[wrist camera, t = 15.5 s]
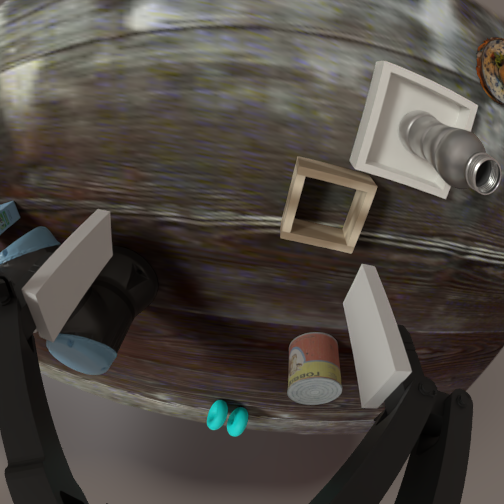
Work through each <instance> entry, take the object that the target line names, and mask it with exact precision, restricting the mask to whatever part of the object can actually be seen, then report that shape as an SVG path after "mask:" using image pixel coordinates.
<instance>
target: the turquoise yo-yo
mask: <svg viewBox="0 0 504 504" xmlns="http://www.w3.org/2000/svg"><path fill="white" fill-rule="evenodd" d="M227 413H228V406H227V404H226V402H225V401H223V400H217V401H216V402H215V403H214V404H213V405H212V407H211V408H210V411H209V413H208V417H207V425H208V427H209V428H210V429H212V430H216V429H218V428H220V427H221V426H222V425H223V424H224V422H225V420H226V417H227ZM247 422H248V412H247V410H246V409H245V408H243V407H238V408H236V409H235V410H234V411H233V412H232V413H231V414H230V416H229V419H228V422H227V430H228V432H229V434H230V435H231V436H238V435H240V434H241V433H242V432H243V431H244V429H245V428H246V425H247Z"/></svg>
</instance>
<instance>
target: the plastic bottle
mask: <svg viewBox="0 0 504 504" xmlns="http://www.w3.org/2000/svg"><path fill="white" fill-rule="evenodd" d="M398 135H399V139H400V141H401V143H402V145H403V146H404V148H405V149H406V150H407V151H408V152H410V153H411V154H413V155H416V156H418V157H422V158H423V159H425V160H427V161H428V162H429V163H430V164H431V165H432V166H433V167H434V168H435V170H436V171H437V172H438V174H439V175H440V177H441V178H442V179H443V180H444V181H445V182H446V183H447V184H448V185H450V186H452V187H455V188H459V189H467V188H470V187H471V188H472V189H473V190H476V191H477V192H478V193H480V194H482V195H488V194H491V193H493V192H494V191H495V190H496V189H497V187H498V185H499V183H500V181H501V175H502V174H501V167H500V165H499V163H498V162H497V161H496V160H495V159H493V158H492V157H491V156H490V155H488V154H487V153H486V151H485V148H484V146H483V144H482V142H481V141H480V140H479V138H478V137H477V136H476V135H475V134H474V133H472V132H470V131H467V130H464V129H459V128H454V127H450V126H448V125H445V124H443V123H441V122H440V121H438V120H437V119H436V118H435V117H434V116H432V115H431V114H430V113H428V112H426V111H422V110H417V111H410V112H409V113H407V114H406V115H404V117H403V118H402V119H401V121H400V123H399V127H398Z"/></svg>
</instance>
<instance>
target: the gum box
mask: <svg viewBox="0 0 504 504" xmlns="http://www.w3.org/2000/svg"><path fill="white" fill-rule="evenodd" d="M19 219H20V215H19V213H18V210H17V207H16V205H15V202H14V201H11V202H8V203H5V204H2V205H0V235H1V234H2V233H3V232H4V231H5V230H6V229H8V228H9V227H10V226H11V225H12V224H14V223H15V222H16V221H17V220H19Z"/></svg>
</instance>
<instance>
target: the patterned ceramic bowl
mask: <svg viewBox="0 0 504 504" xmlns="http://www.w3.org/2000/svg"><path fill="white" fill-rule="evenodd" d="M484 42H485V43H483V44H482V45H480V46H479V48H478V52H477V53H476V54H477V67H476V70H477V74H478V76H479V78H480V83H481V85H482V87H483V89H484V90H485V92H486V93H487V94H488V96H489V97H490V98H491V99H493V100H494V101H495V102H497V103H499V104H502V105H504V39H502V38H497V37H496V38H491V39H488V38H487V40H486V41H484Z"/></svg>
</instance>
